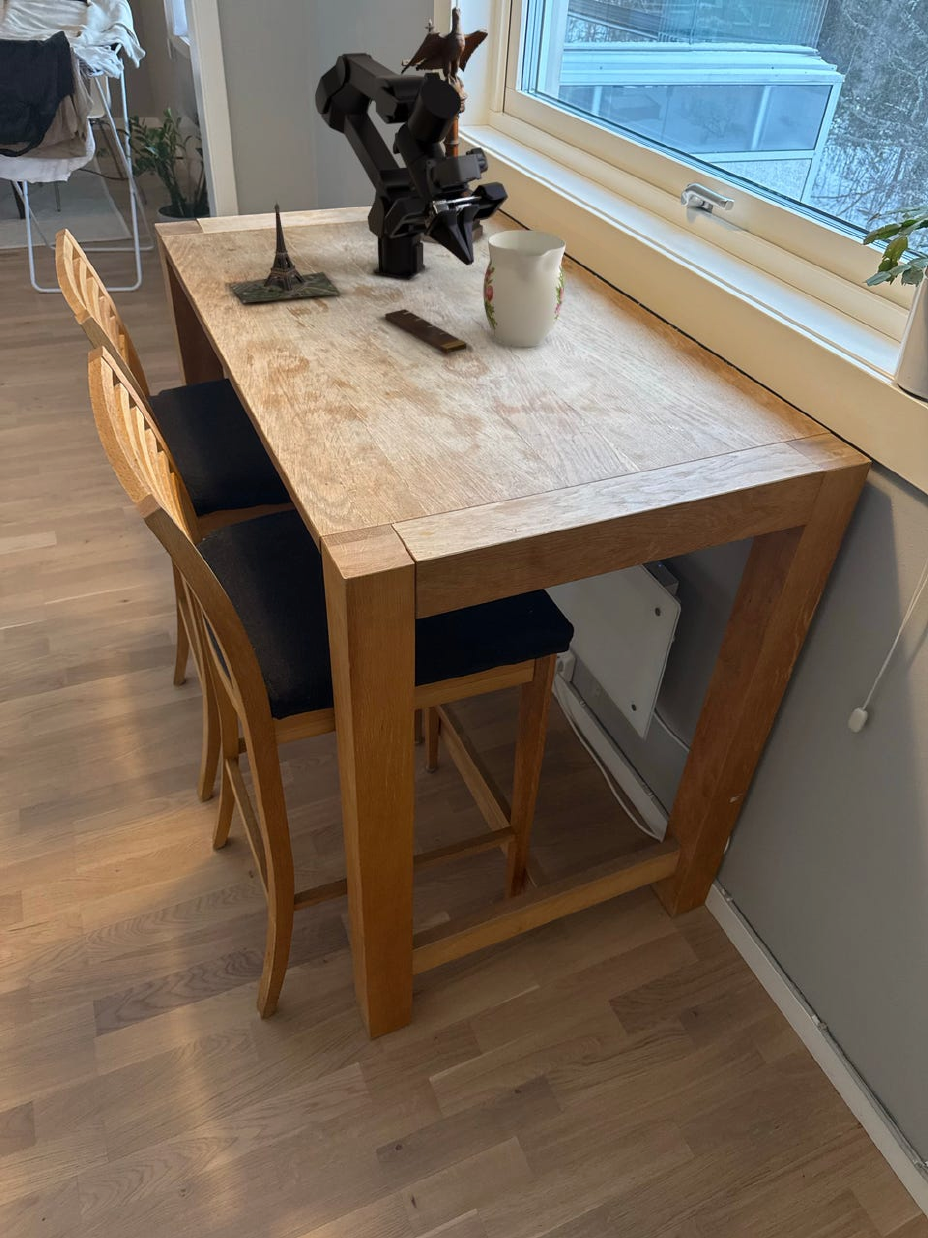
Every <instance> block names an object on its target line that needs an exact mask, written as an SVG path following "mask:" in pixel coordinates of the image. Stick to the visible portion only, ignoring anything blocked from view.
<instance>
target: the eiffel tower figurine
mask: <svg viewBox="0 0 928 1238" xmlns="http://www.w3.org/2000/svg"><path fill="white" fill-rule="evenodd" d="M280 209H281V208H280V205H279V204H278V201H277V199H275V205H274V211H275V234H276V235H275V237H276V239H275V241H276V243H275V244H276V245H275V251H274V254H275V255H274V259H273V264H272V266H271V267H270V271H269V274H268V276H267V277H266V278H262V279H261V278H260V279H255V280H250V281H244V282H239V283H237V282H236V283H231V284H229V286H230V287H231V289H232V291H233V292H234V293H235V294H236V295H237V297H239V299H240V300H241V301H242V303H244V304H245V303H253V302H264V301H265V302H266V301H276V300H284V299H290V298H291V299H292V298H302V297H311V296H332V295H341V292H340V291H339V290H338V289H337V287H336V286H335V284H334V283H333V282H332V281H331V280H330V279H329V277H328V276H327V275H326V273H325V272H324V271H319V272H313V273H309V274H301V273H300V272H299V271H298V270H297V268H296V265H294V264H293V262H292V260H291V258H290V256H289V254H288V253H289V250H287V247H286V241H285V238H284V233H283V226H282V220H281V214H280Z"/></svg>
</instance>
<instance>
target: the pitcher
mask: <svg viewBox="0 0 928 1238" xmlns="http://www.w3.org/2000/svg"><path fill="white" fill-rule="evenodd" d="M487 246H488V252H489V253H488V254H489V262H488V265H487V268H486V270H485V274H484V278H483V288H482V289H483V305H484V311H485V315H486V319H487V322H488V325H489V328H490V330H491V332H492V333H493V335H494V336H495V337H496V339H497V341H498V342H500V343H501V344H503V345H505V346H508V347H513V348H532V347H536V346H539V345H541V344H543V342H544V340H545V339H546V338H547V337H548V336H549V335H550V334H551V332H552V330H553V328H554V326H555V325H556V322H557V321H558V317H559V315H560V312H561V308H562V305H563V299H564V292H565V277H564V272H563V267H562V260H563V256H564V253H565V250H566V246H567V242H566V241H565V240H564V239H563V238H561V237H560V236H558V235H555V234H553V233H549V232H545V231H538V230H532V229H531V230H528V229H513V230H512V229H511V230H504V231H500V232H497V233H494V234H492V235H491V236H489V237H488V239H487Z"/></svg>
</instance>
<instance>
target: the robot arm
mask: <svg viewBox="0 0 928 1238" xmlns="http://www.w3.org/2000/svg"><path fill="white" fill-rule="evenodd" d="M444 80H445V79H444ZM444 80H443V79H442V77H441V75H440V72H439V71H435V72H433V71H431V72H425V73H424V75H423V76H422V75H416V74H402V75H401V74H398V73H396V72H394V71H393V70H391V69H389V68H388V67H386V66H385V65H383V64H382V63H380V62H379V61H377V60H375V59H374V58H373V57H372V55H371V54H367V52H349V53H348V52H347V53H342V54H341V55H338V56H337V59H336V61H335V64H334V65H333V66H332V67H331V68H330V69H328V71H326V72H325V73H323V75H321V77H320V78H319V81H318V84H317V87H316V89H315V93H314V102H315V107H316V111H317V113H318V114H319V115H320V116H321V117H320V118H322V120H323V121H324V123H325V124H326V125H327V126H328V128H330V129H331V130H333V131H336V132H338V133H341V134H343V135H344V137H345V139H346V140H347V142H348V143H349V145H350V146H351V149H352V150H353V152H354V154H355V156H356V157H357V159H358V161H359V163H360V164H361V166H362V168H363V170H364V172H365V173H366V175H367V177H368V178H369V180H370V182H371V184H372V185H373V188H374V189H375V195H374V201H373V204H372V205H371V207H370V210H369V212H368V214H367V224H368V230H369V232H371V234H373V235H374V236H376V237H377V261H378V263H377V264H378V265H377V266H378V267H376V268H374V269H373V274H375V275H380V276H387V277H391V278H397V279H402V280H411V279H412V278H413V277H415V276H416V275H418V274H419V273H421V272H422V271H424V270H425V269H426V264H424V243H423V242H422V241H421V240H422V238H421V233H423V234H424V236H425V237H427V236H429V237H431V238H432V239H434V240H435V241H437V242H438V243H437V244H440V245H441V246H442V247H444V248H445V249H446V250H447V251H449V252H450V253H451V254H452V255H453V256H454V257H455V258H457V260H459V261H460V262H462V263H463V264H464V265H465V266H472V264H474V262H475V257H474V244H473V243H474V242H472V221H474V222H475V221H480V222H481V221H485V220H489V219H490V218H492V217H493V216H494V215H495V214H496V212H497V211H498V210H499V209H500V208H501V207H502V205H503V204H504V203H505V202H506V201H507V199H508V198H509V196H508V193H507V190H506V188H505V186H504V185H503V183H501V182H498V181H494V182H488V183H482V184H478V185H477V186H476V188H475V189H474V190H473V192H472V193H470V194H471V196H469V197H463V196H462V193H463V192H466V191H467V190H468V189H469V188H470V184H469V183H471V182H473V181H475V180H476V181H479V180H481V179H482V178H483V177H482V174H484V173H486V172H488V170H489V163H488V157H487V156H486V154H485V152H484V150H483V148H482V147H474V148H471V149H470V150H466V152H465V155H464V154H463V155H458V156H456V157H452V156H445V151H444V150H443V148H442V146H441V142H443V141H444V140H445V137H446V135H447V133H448V132H449V130H450V128H451V126H452V124H453V122H454V120H455V118H456V116H457V115H458V113H459V111H460V108H461V98H460V95H459V93H458V92H457V91H456V90H455V88H454V87H453V86H452V85H451V84H449V83H448V82H446V81H444ZM373 102H374V103H375V113H376V114H377V115H378V116H379V118H380V119H381V120H382V121H383V123H385V125H395V124H402V125H400V126H399V129H398V131H397V132H395V133H394V141H393V143H392V152H391V150H390V149H389V147H388V145H387V144H386V142H385V140H384V139H383V137H382V135H381V133H380V132H379V130H378V128H377V127H376V125H375V123H374V121H373V120H372V118H371V116H370V107H371V105H372V103H373ZM398 154H400V156H401V158H402V160H403V163H404V164H405V167H400V165H399V163H398V162H397V160H396V158H395V157H394V155H398Z"/></svg>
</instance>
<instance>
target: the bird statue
mask: <svg viewBox="0 0 928 1238" xmlns="http://www.w3.org/2000/svg"><path fill="white" fill-rule="evenodd" d="M461 24H462V23H461V9H460V8H459V7H457V6H454V7H453V8H452V9H451V30H450V32H449V33H446V34H441V31H440V30H438V29H435V26H434V25H433V23H432V19H431V18H428V26H427V25H426V26H424V28H425V29H427V30H428V33H427V34H426V36H425V38H424V40H423V41H422V43H421V45H420V46H419V47H418V49H417V51H416V52H415V54H414V55H413V57H412V58H411V59H410V58H409V59H406V58H405V59H403V60H402V61H401V63H400V65H401V67H404V68H403V69H402V70H401V72H400V75H404V73H405V72H406V71H407V70H408V69H409V68H410V67H412V68H415V71H416V72H419V71H426V70H427V71H439V70H442V74H443V77H444V81H446V82H448V83H449V84H451V85H452V86H453V87H454V88H455V90H456V91H457V92H458V93H459V95H460V98H461V108H460V111H459V113H458V115H457V116H456V118H455V120H454V122H453V124H452V126H451V128H450V130H449V132H448V133H447V135H446V137H445V138H444V140H442V141H441V142H442V144H443V146H444V149H445V150H444V154H445V156H452V157H456V156H459V145H460V143H461V141H460V140H459V119H460V118H461V116H460V115H461V114H463V113H465V110H466V103H465V102H466V100H467V99H468V94H467V92H465V91H464V88H465V87H464V86H465V84H464V82H463V80H462V78H461V77H460V76H458V72H459V69H460V70H461V72H462V73H464V72H465V69H466V67H467V64H468V61H469V60H470V58H472V54H474V52H475V51H476V49H478V48H479V46H480V45H481V44H482V43H483V42H484V41H485V40H486V39H487V38H488V35H489V33H488V30H487V29H483V28H479V29H477V30H475V31H473V32H470V33H464V31H463V29H462V25H461ZM471 194H472V193H471V192H470V189H469V188H468V190H467V191H466V192H463V193H462V196H463V197H469V196H471ZM483 233H484V226H483V225H482V224H481V220H480V221H475V222H474V221H472V242H473V243H474V242H476V241H477V240H478V239H479V238H481V237H482V236H483V235H484V234H483ZM421 240H423V241H425V242H428V243H435V244H439V243H438V242H437V241H435V240H434V239H432V238H431V237H429V236H427V237H425V236H424V234H423V233H421Z"/></svg>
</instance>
